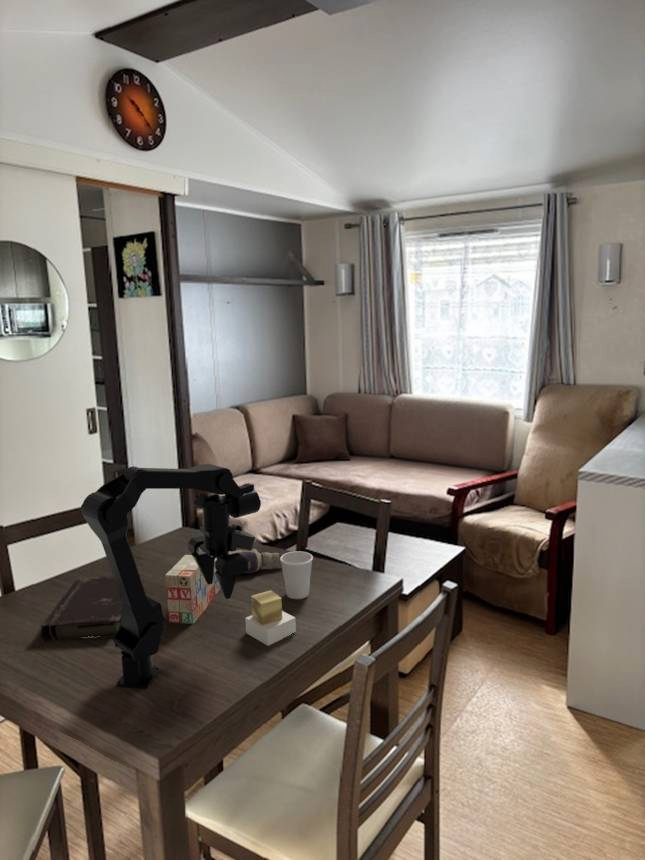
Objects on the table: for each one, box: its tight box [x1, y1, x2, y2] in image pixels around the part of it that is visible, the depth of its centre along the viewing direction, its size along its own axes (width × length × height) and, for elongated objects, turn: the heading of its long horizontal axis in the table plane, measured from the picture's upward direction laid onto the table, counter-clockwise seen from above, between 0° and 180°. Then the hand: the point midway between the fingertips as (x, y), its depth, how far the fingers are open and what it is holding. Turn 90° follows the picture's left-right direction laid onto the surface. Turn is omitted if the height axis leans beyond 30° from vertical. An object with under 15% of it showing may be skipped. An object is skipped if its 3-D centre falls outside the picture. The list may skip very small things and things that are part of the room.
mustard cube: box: [250, 589, 283, 625], centre depth 143 cm, size 5×5×5 cm
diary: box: [39, 573, 143, 642], centre depth 155 cm, size 19×25×5 cm
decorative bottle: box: [228, 548, 285, 574], centre depth 177 cm, size 26×8×7 cm, turn 103°
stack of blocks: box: [164, 554, 222, 625], centre depth 159 cm, size 21×6×12 cm, turn 170°
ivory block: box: [244, 610, 297, 647], centre depth 144 cm, size 8×8×4 cm
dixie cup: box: [279, 550, 314, 600], centre depth 162 cm, size 8×8×10 cm
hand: (218, 591), depth 140 cm, fingers open, 9 cm apart
